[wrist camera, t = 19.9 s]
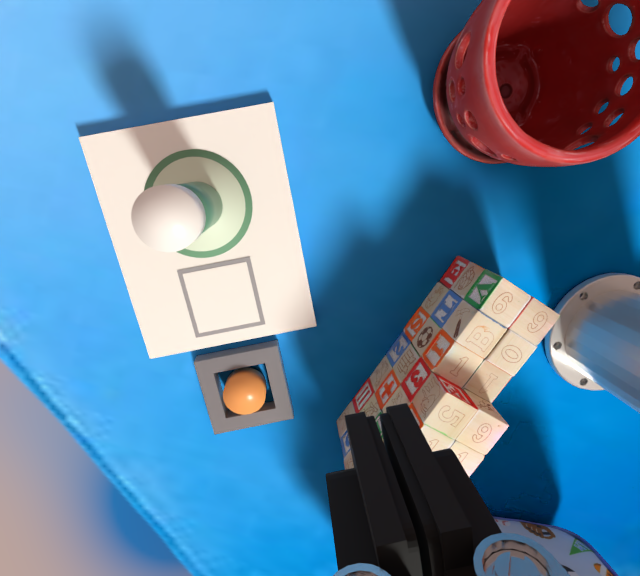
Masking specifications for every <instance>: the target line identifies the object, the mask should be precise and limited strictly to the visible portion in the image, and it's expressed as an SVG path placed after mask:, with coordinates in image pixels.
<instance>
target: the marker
mask: <svg viewBox="0 0 640 576" xmlns="http://www.w3.org/2000/svg"><path fill="white" fill-rule="evenodd" d="M222 209H223V204H222V200H221V197H220V195H219V193H218V192H217V191H216V190H215V189H214V188H213V187H212V186H210V185H209V184H207V183H204V182H189V183H183V184H165V185H158V186H153V187H151V188H148V189H146V190H145V191H143V192H142V193H141V194H140V195H139V196H138V197H137V198H136V200H135V202H134V204H133V207H132V211H131V220H132V225H133V228H134V230H135V232H136V234H137V236H138V237H139V238H140V239H141V241H142V242H143V243H145V244H146V245H147V246H149V247H150V248H152V249H154V250H157V251H160V252H177V251H180V250H182V249H184V248H186V247H187V246H189V245H190V244H191V243H193V242H194V241H195V240H196V239H197V238H199V236H200V235H201V234H202V233H203V232H205V231H206V230H207V229H209V228H210V227H211V226H213V225H214V224H215V223H216V222H217V221H218V220H219V218H220V217H221V214H222Z"/></svg>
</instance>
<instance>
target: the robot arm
mask: <svg viewBox="0 0 640 576" xmlns="http://www.w3.org/2000/svg"><path fill="white" fill-rule="evenodd" d="M554 311H555V312H556V313H558V314H559V315H561V316H560V318H559V319H558V320H557V322H556V323H555V324H554V325H553V327H552V328H551V329H550V330H549V332H548V333H547V334H546V335H545V351H546V356H547V358H548V361H549V363H550V365H551V367H552V368H553V369H554V371H555V372H556V373H557V374H558V375H559V376H560V377H562V378H563V379H564V380H565V381H567V382H568V383H570V384H572V385H573V386H576V387H578V388H581V389H587V390H607V391H608V392H610V393H611V394H613V395H614V396H616V397H617V398H618V399H620V400H621V401H623V402H624V403H626V404H627V405H629V406H630V407H632V408H633V409H634V410H636V411H637V412H639V413H640V277H637V276H634V275H630V274H625V273H607V274H602V275H598V276H595V277H593V278H590V279H587V280H586V281H584V282H582V283H581V284H579V285H577V286H576V287H575V288H573V289H572V290H571V291H570V292H568V293H567V294H566V295H565V296H564V298H563V299H562V300H561V301H560V302H559V303H558V305H557V306H556V308H555V310H554ZM344 416H345V422H346V427H347V433H348V438H349V444H350V449H351V454H352V460H353V465H354V468H351V469H346V470H341V471H336V472H331V473H327V474H326V481H327V489H328V497H329V504H330V512H331V520H332V527H333V535H334V543H335V550H336V558H337V566H338V571H337V572H336V573H335V574H334V575H333V576H570V574H569V573H568V572H567V571H566V570H565V569H564V568H563V567H562V565H561V564H560V563H559V562H558V561H557V560H556V559H555V558H554V556H553V555H552V554H551V553H550V552H549V551H547V550H546V549H545V548H544V547H543V546H542V545H541V544H539V543H537V542H535V541H534V540H532V539H530V538H528V537H525V536H522V535H518V534H514V533H502V532H501V530H500V528H499V526H498V525H497V523H496V521H495V520H494V518H493V516H492V515H491V513H490V511H489V510H488V508H487V506H486V505H485V503H484V501H483V500H482V498H481V496H480V495H479V493H478V491H477V490H476V488H475V486H474V485H473V483H472V481H471V480H470V478H469V476H468V475H467V473H466V471H465V470H464V468H463V466H462V465H461V463H460V461H459V459H458V458H457V456H456V454H455V453H454V452H453V450H452V449H450V448H448V449H443V450H438V451H433V452H432V450H431V448H430V446H429V444H428V442H427V440H426V438H425V436H424V435H423V433H422V431H421V429H420V427H419V425H418V423H417V421H416V419H415V417H414V415H413V413H412V412H411V410H410V408H409V406H408V404H407V403H404V404H399V405H394V406H389V407H386V413H383V414H380V422H381V429H382V435H383V440H382V437H381V434H380V431H379V429H378V426H377V423H376V420H375V418H374V416H368V417H366V414H365V412H359V413H354V414H349V415H344ZM383 441H384V443H383Z"/></svg>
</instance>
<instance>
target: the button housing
mask: <svg viewBox="0 0 640 576" xmlns="http://www.w3.org/2000/svg"><path fill="white" fill-rule="evenodd" d="M264 363H265V365H266V369H267V373H268V377H269V381H270V386H271V390H272V394H273V398H274V401H271V402H266V403H264V404H263V406H262V407H261V408H260V409H259V410H258V411H256V412H254V413H252V414H247V415H242V414H237V413H235V412H233V411H231V410H228V408H227V406H226V405H225V403H224V400H223V390H222V387H221V383H220V379H219V376H218V372H223V371H228V370H233V369H238V368H243V367H248V366H253V365H259V364H264ZM194 365H195V369H196V372H197V375H198V379H199V382H200V386H201V389H202V393H203V396H204V400H205V403H206V406H207V410H208V413H209V417H210V420H211V424H212V427H213V430H214V434H219V433H224V432H229V431H234V430H239V429H244V428H249V427H254V426H259V425H264V424H268V423H273V422H278V421H283V420H288V419H293V418H294V411H293V406H292V401H291V397H290V392H289V388H288V383H287V379H286V375H285V370H284V366H283V361H282V357H281V352H280V348H279V343H278V340H274V341H269V342H264V343H259V344H254V345H248V346H243V347H238V348H233V349H228V350H223V351H218V352H213V353H208V354H203V355H198V356H197V357H196V359H195V361H194Z"/></svg>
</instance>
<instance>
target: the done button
mask: <svg viewBox="0 0 640 576" xmlns="http://www.w3.org/2000/svg"><path fill="white" fill-rule="evenodd" d="M265 397H266V380H265V378H264V376H263V375H262V374H261V373H260V372H259V371H258V370H256V369H253V368H249V367H243V368H239V369H236V370H235V371H233V372H232V373H231V374H230V375H229V376H228V378H227V381H226V384H225V388H224V392H223V400H224V403H225V405H226V406H227V407H228V408H229V409H230V410H231V411H233V412H235V413H237V414H242V415H247V414H252V413H254V412H256V411H258V410H259V409H260V408H261V407H262V406H263V404H264V402H265Z"/></svg>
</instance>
